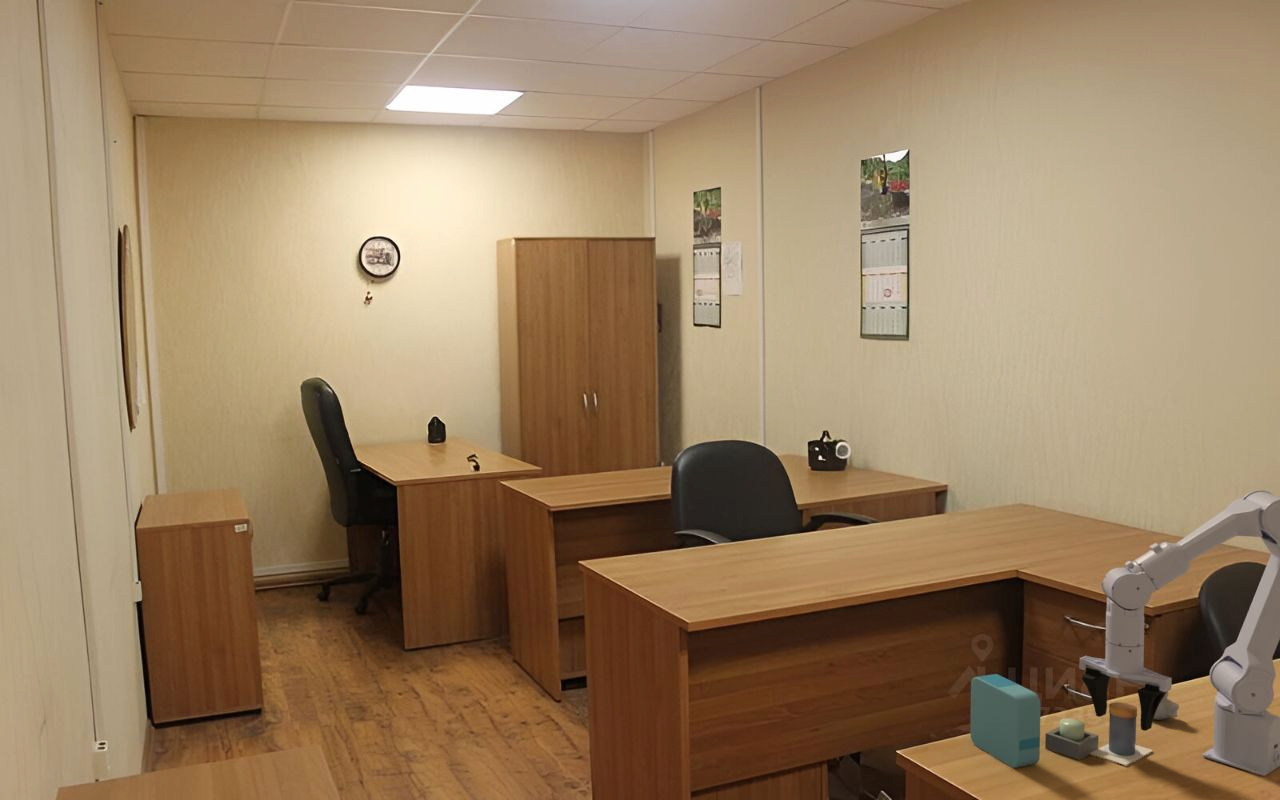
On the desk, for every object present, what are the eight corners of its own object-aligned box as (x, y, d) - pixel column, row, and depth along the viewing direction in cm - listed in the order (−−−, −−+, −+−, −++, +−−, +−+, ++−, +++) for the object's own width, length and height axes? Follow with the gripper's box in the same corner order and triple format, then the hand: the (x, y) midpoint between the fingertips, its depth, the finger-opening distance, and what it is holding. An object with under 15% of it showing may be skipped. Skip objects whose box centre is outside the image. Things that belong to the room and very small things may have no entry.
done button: (1088, 740, 171) (1089, 723, 171) (1076, 746, 169) (1076, 729, 169) (1067, 733, 174) (1067, 716, 174) (1055, 739, 172) (1055, 722, 172)
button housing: (1098, 750, 171) (1098, 735, 171) (1079, 760, 168) (1079, 744, 167) (1064, 739, 176) (1064, 724, 176) (1045, 748, 172) (1045, 733, 172)
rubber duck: (1152, 710, 188) (1154, 668, 188) (1186, 722, 183) (1188, 679, 182) (1134, 716, 186) (1135, 673, 185) (1167, 728, 180) (1169, 684, 179)
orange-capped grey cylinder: (1140, 751, 170) (1141, 707, 169) (1129, 758, 167) (1130, 713, 167) (1115, 743, 173) (1116, 700, 172) (1103, 750, 170) (1104, 706, 170)
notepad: (1152, 752, 170) (1153, 749, 170) (1125, 766, 165) (1125, 764, 165) (1117, 740, 175) (1117, 738, 175) (1090, 754, 170) (1090, 752, 170)
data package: (1040, 767, 165) (1041, 695, 164) (1017, 771, 164) (1018, 698, 163) (991, 738, 177) (992, 671, 176) (969, 742, 175) (970, 674, 174)
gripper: (1070, 636, 172) (1069, 714, 173) (1157, 657, 160) (1155, 741, 161) (1092, 628, 176) (1091, 704, 177) (1178, 648, 165) (1176, 730, 166)
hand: (1123, 721), depth 170 cm, fingers open, 7 cm apart
